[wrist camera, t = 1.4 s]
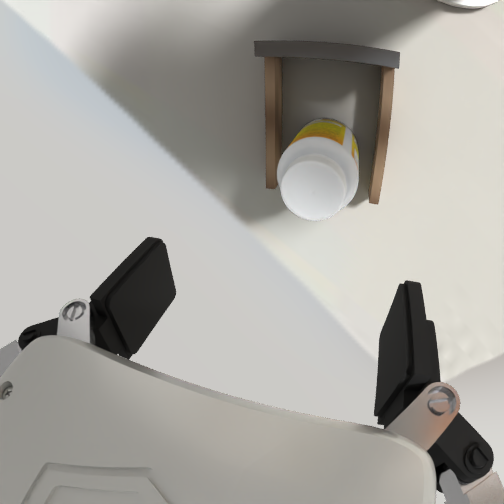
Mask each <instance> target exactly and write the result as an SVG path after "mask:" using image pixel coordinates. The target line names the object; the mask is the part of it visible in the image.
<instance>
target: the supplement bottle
mask: <svg viewBox="0 0 504 504" xmlns="http://www.w3.org/2000/svg"><path fill="white" fill-rule="evenodd" d="M277 180H278V184H279V187H280V191H281V196H282V199H283V202H284V203H285V205H286V206H287V208H288V209H289V210H290V211H291V212H292V213H293V214H295V215H296V216H298V217H300V218H302V219H305V220H310V221H321V220H325V219H328V218H330V217H332V216H333V215H335V214H336V213H337V212H338V211H339V210H341V209H342V208H344V207H345V206H346V205H347V204H348V203H349V202H350V201H351V200H352V199H353V197H354V195H355V193H356V191H357V187H358V182H359V154H358V144H357V141H356V138H355V136H354V134H353V133H352V131H351V130H350V129H349V128H348V127H347V126H346V125H344V124H343V123H341V122H339V121H337V120H334V119H328V118H322V119H316V120H314V121H311V122H309V123H308V124H306V125H305V126H304V127H303V128H302V129H301V130H300V132H299V133H298V134H297V136H296V137H295V138H294V140H293V141H292V142H291V144H290V145H289V146H288V147H287V149H286V150H285V151H284V153H283V154H282V156H281V158H280V160H279V163H278V168H277Z"/></svg>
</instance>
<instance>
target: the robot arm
mask: <svg viewBox="0 0 504 504" xmlns="http://www.w3.org/2000/svg"><path fill="white" fill-rule="evenodd" d="M437 1H439V2H443V3H446V4H448V5H451V6H456V7H461V8H474V9H476V8H482V7H487V6H489V5H492V4H494V3H496V2H497V1H499V0H437ZM175 295H176V289H175V285H174V280H173V276H172V272H171V268H170V263H169V258H168V253H167V249H166V245H165V243H163V241H162V240H161V239H159V238H153V237H148V238H146V239H145V240H144V241H143V242H142V243H141V244H140V245H139V246H138V247H137V248H136V249H135V250H134V251H133V252H132V253H131V254H130V255H129V256H128V257H127V258H126V259H125V260H124V261H123V262H122V263H121V264H120V265H119V266H118V267H117V268H116V269H115V271H114V272H112V274H111V275H110V276H109V277H108V278H107V279H106V280H105V281H104V282H103V283H102V284H101V285H100V286H99V287H98V289H96V291H95V292H94V293H93V294H92V295H91V296H90V298H91V302H90V303H88V302H87V301H86V300H84V299H74V300H72V301H69V302H68V303H66V304H65V305H64V306H63V307H62V309H61V310H60V313H59V317H58V318H55V319H52V320H48V321H45V322H43V323H39V324H36V325H32V326H30V327H28V328H26V329H25V330H24V331H23V332H22V333H21V335H20V337H19V340H18V342H17V341H16V340H15V341H13V342H11V343H10V344H8V345H7V346H5V347H3V348H1V349H0V504H435V502H436V489H437V490H438V491H439V492H441V493H444V496H445V498H446V502H444V503H445V504H504V488H503V486H502V483H501V481H500V478H499V476H498V474H497V472H494V473H493V470H492V468H491V467H492V464H493V461H494V458H493V451H492V448H491V447H490V446H489V444H488V443H487V442H486V441H485V440H484V439H483V438H482V437H481V435H480V434H479V433H478V432H477V431H476V430H475V429H474V428H473V427H472V426H471V425H470V424H469V423H468V422H467V421H466V420H465V419H464V417H462V415H461V414H460V413H459V412H458V411H459V409H460V399H459V396H458V393H457V391H456V390H455V389H454V388H453V387H452V386H450V385H449V384H447V383H443V382H440V369H439V359H438V349H437V341H436V333H435V326H434V322H433V321H431V320H426V314H425V307H424V300H423V294H422V288H421V284H420V283H419V282H413V281H407V280H406V281H405V282H404V284H399V286H398V289H397V292H396V295H395V297H394V300H393V303H392V305H391V308H390V311H389V313H388V316H387V318H386V321H385V323H384V326H383V328H382V331H381V334H380V338H379V357H378V375H377V387H376V399H375V409H374V416H378V424H380V425H384V429H380V428H376V427H372V426H367V425H362V424H357V423H352V422H346V421H340V420H335V419H329V418H324V417H319V416H313V415H309V414H304V413H299V412H294V411H290V410H285V409H281V408H277V407H272V406H268V405H264V404H260V403H256V402H252V401H249V400H245V399H242V398H238V397H234V396H231V395H227V394H224V393H220V392H217V391H214V390H211V389H207V388H204V387H201V386H198V385H195V384H192V383H189V382H186V381H183V380H180V379H177V378H175V377H172V376H169V375H166V374H164V373H161V372H158V371H156V370H153V369H150V368H148V367H145V366H142V365H140V364H138V363H135V362H133V361H130V360H129V359H130V357H131V356H132V354H135V353H137V351H138V350H139V348H140V347H141V346H142V344H143V343H144V341H145V340H146V338H147V337H148V335H149V334H150V332H151V331H152V330H153V328H154V327H155V325H156V324H157V322H158V321H159V319H160V318H161V317H162V315H163V314H164V312H165V311H166V310H167V308H168V307H169V305H170V304H171V303H172V301H173V300H174V298H175ZM117 354H119V356H118V355H117ZM123 357H124V358H123ZM125 358H126V359H125Z"/></svg>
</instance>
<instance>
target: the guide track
mask: <svg viewBox="0 0 504 504" xmlns="http://www.w3.org/2000/svg"><path fill="white" fill-rule="evenodd" d="M254 44H255V56H258V57H265V119H266V188H268V189H275V188H276V186H277V185H278V180H277V168H278V163H279V160H280V158H281V156H282V57H292V58H313V59H327V60H338V61H347V62H356V63H363V64H370V65H377V66H381V84H380V99H379V111H378V122H377V132H376V141H375V149H374V157H373V165H372V172H371V179H370V186H369V203H372V204H378V202H379V197H380V191H381V186H382V180H383V173H384V167H385V160H386V153H387V146H388V138H389V129H390V120H391V110H392V99H393V86H394V69H395V68H399V61H400V52H396V51H390V50H385V49H379V48H372V47H365V46H357V45H349V44H339V43H327V42H312V41H254Z"/></svg>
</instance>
